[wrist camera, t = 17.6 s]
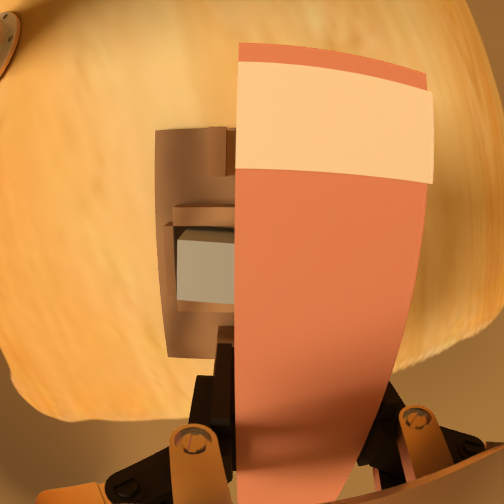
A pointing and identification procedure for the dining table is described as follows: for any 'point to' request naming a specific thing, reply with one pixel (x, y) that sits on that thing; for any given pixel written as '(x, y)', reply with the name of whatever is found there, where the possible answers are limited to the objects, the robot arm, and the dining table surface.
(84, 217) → the dining table surface
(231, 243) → the grey rectangular block
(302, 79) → the orange banded bar
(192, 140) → the jig
